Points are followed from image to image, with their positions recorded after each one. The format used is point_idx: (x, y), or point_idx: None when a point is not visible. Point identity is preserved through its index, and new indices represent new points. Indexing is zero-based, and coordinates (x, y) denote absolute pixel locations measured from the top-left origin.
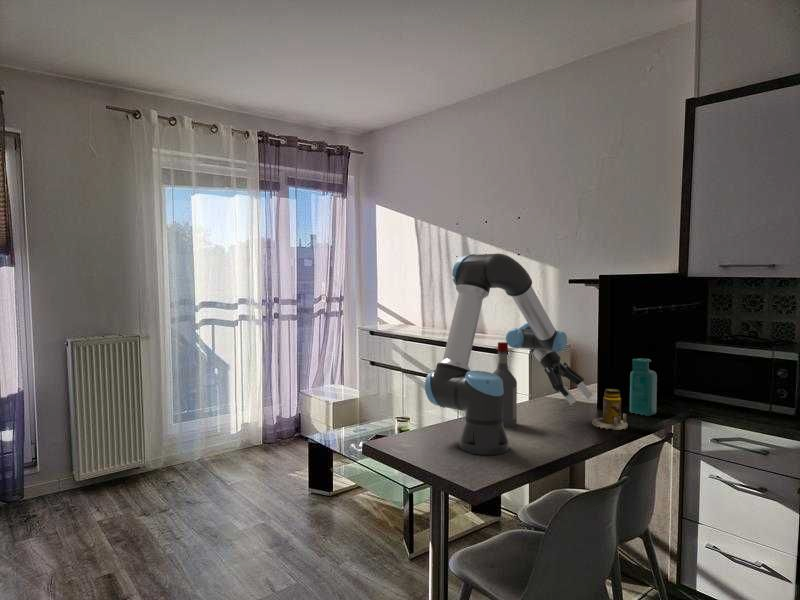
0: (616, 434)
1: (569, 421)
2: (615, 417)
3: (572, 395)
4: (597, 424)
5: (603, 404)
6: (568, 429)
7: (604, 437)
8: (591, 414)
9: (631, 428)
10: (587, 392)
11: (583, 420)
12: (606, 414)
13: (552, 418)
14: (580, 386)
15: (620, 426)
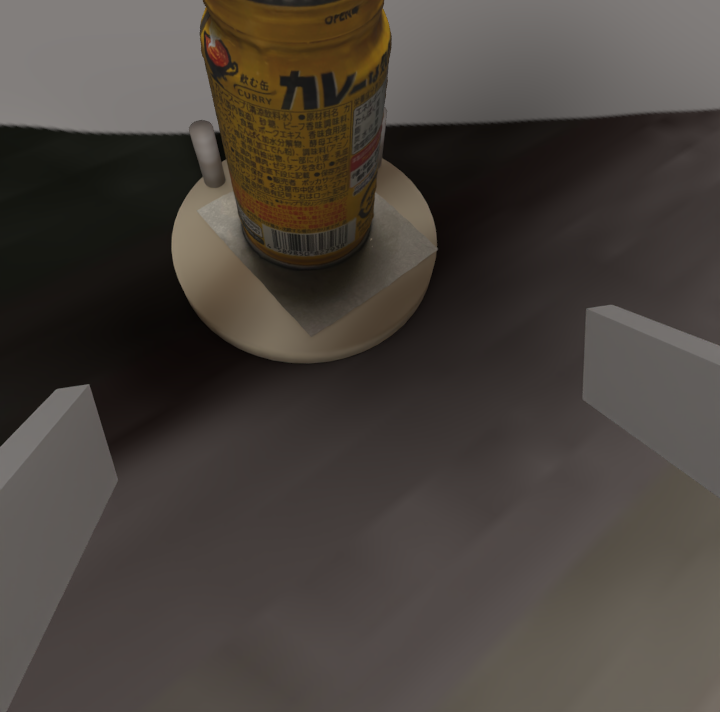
0: (462, 132)
1: (491, 503)
2: None
3: (648, 329)
4: (435, 255)
5: (364, 137)
6: None
7: (580, 138)
8: None
9: None
10: (69, 459)
11: (346, 452)
12: (377, 169)
13: (565, 701)
14: (7, 608)
15: None
